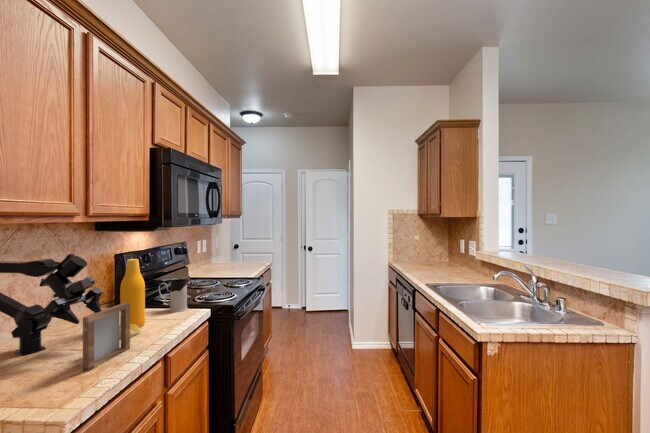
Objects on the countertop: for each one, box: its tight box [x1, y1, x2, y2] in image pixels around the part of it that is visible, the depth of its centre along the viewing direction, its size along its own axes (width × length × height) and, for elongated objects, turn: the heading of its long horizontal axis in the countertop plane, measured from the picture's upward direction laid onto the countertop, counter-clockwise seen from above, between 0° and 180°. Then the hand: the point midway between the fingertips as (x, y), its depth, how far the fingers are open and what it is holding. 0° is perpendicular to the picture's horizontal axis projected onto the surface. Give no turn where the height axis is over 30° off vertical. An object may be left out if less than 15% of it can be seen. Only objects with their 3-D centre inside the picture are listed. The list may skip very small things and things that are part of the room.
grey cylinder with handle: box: [158, 278, 189, 313], centre depth 161 cm, size 9×14×15 cm, turn 94°
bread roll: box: [119, 324, 141, 340], centre depth 127 cm, size 8×9×4 cm
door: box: [94, 311, 120, 362], centre depth 107 cm, size 6×12×14 cm, turn 172°
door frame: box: [82, 303, 131, 372], centre depth 106 cm, size 2×17×16 cm, turn 172°
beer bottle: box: [119, 258, 146, 328], centre depth 137 cm, size 9×9×29 cm
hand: (90, 318), depth 112 cm, fingers open, 9 cm apart
